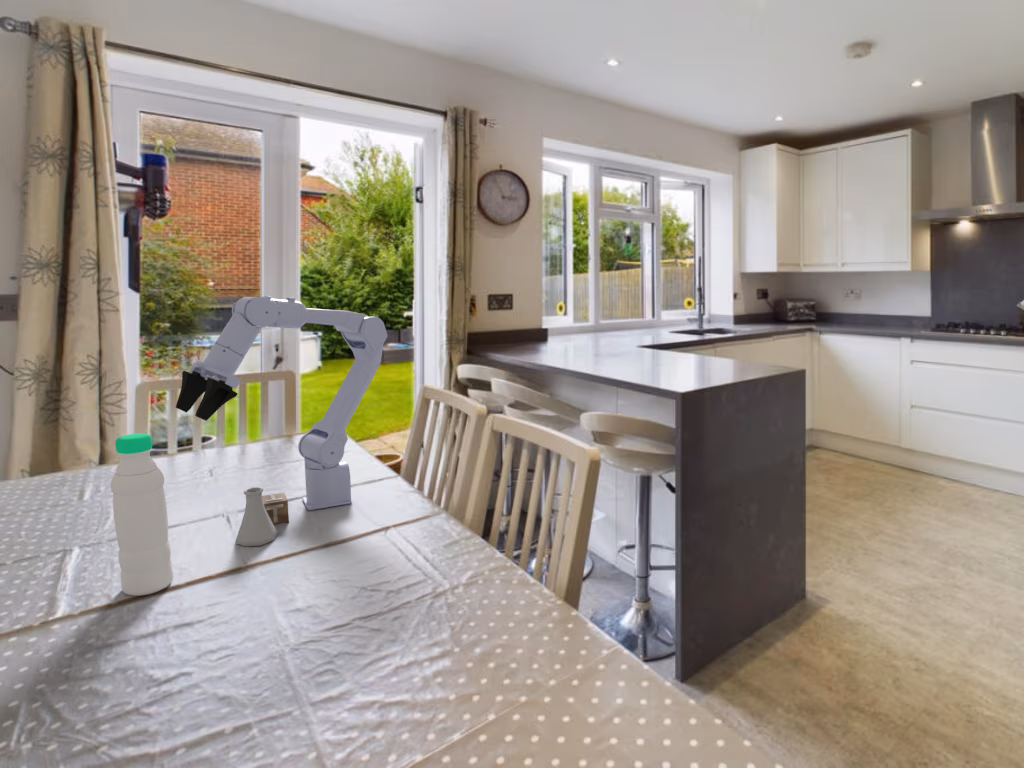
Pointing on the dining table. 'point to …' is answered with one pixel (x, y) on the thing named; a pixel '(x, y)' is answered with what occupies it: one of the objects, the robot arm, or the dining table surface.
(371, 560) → the dining table surface
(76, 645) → the dining table surface
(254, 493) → the flask
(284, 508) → the lettered block
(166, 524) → the water bottle
